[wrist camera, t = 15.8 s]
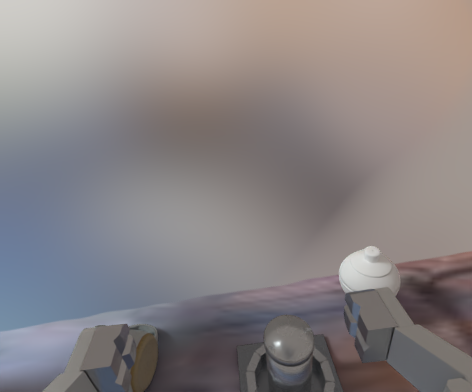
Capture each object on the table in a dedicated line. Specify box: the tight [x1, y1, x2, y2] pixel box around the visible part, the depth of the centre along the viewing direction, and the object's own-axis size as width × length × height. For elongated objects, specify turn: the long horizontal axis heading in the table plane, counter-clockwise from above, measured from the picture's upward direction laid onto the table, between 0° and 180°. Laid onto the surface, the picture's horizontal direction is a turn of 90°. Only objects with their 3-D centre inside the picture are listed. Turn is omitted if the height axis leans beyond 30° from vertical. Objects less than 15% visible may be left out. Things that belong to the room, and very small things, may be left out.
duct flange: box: [237, 334, 343, 392], centre depth 36 cm, size 12×12×3 cm
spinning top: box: [339, 246, 401, 296], centre depth 42 cm, size 8×8×12 cm
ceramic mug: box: [95, 324, 158, 392], centre depth 40 cm, size 11×8×8 cm
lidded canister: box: [264, 315, 314, 392], centre depth 34 cm, size 5×5×10 cm
